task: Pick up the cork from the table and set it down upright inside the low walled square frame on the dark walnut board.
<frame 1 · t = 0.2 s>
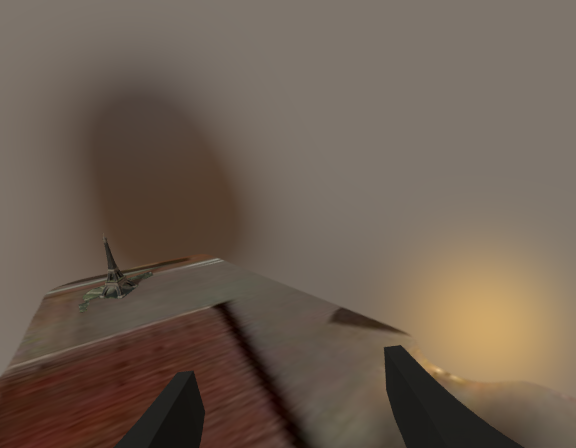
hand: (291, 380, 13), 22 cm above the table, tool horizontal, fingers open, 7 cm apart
eiffel tower figurine: (120, 293, 71), on the table
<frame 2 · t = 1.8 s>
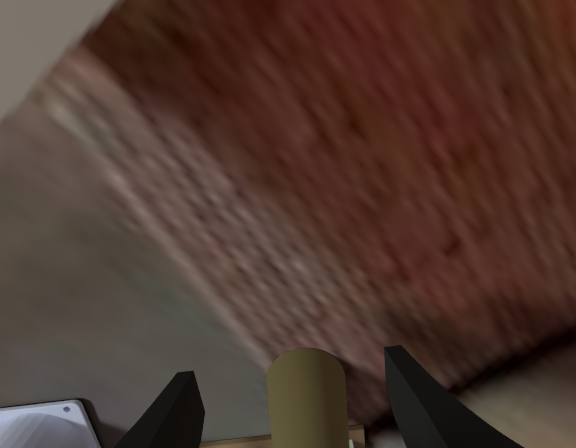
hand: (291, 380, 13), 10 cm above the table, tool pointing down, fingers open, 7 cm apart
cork: (305, 378, 26), on the table
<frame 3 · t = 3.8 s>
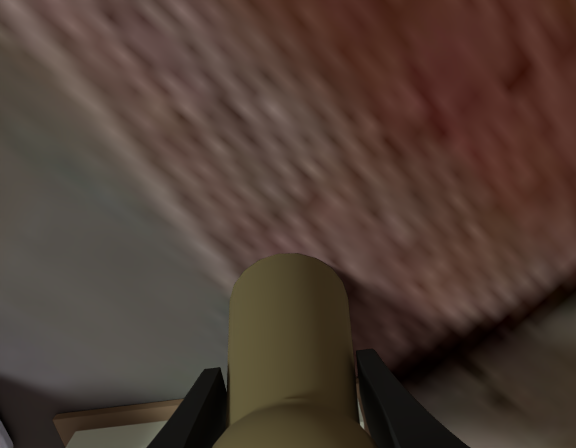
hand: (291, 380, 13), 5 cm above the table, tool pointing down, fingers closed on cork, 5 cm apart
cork: (288, 305, 18), on the table, touching gripper
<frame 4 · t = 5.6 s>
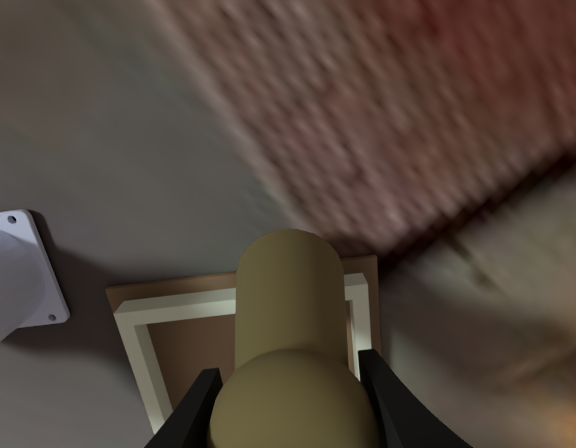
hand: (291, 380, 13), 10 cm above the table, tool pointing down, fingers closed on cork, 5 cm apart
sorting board: (260, 378, 26), on the table
walled square frame: (260, 382, 25), resting on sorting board
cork: (290, 276, 19), point 3 cm above the table, touching gripper
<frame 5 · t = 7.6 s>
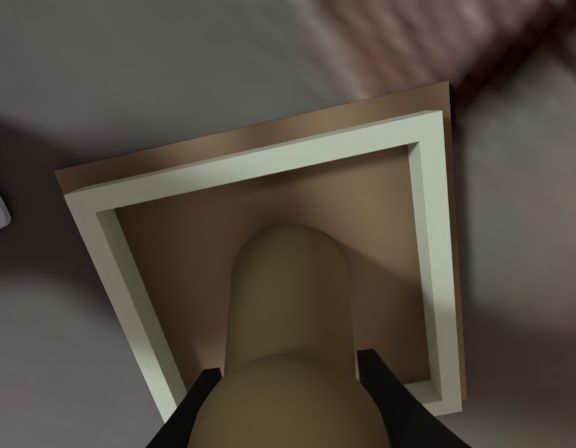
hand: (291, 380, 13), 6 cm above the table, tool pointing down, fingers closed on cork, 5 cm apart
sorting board: (287, 296, 18), on the table
walled square frame: (287, 300, 18), resting on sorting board
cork: (290, 277, 18), resting on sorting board, touching gripper
when the fingers open (6 cm above the table, at t = 8.1 s): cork stays where it is, resting on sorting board.
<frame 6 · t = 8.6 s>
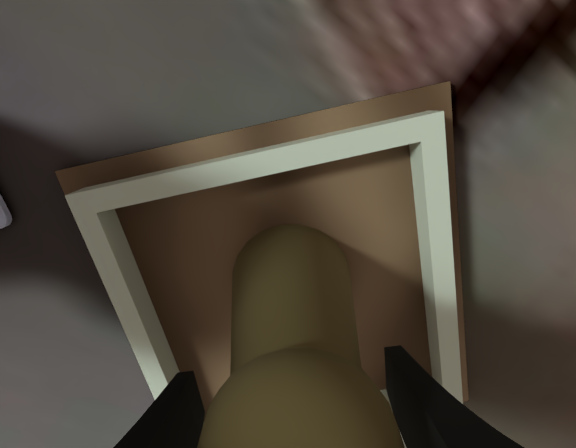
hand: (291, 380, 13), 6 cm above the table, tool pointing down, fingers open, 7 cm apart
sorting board: (288, 297, 18), on the table
walled square frame: (288, 301, 18), resting on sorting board
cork: (291, 277, 18), resting on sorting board
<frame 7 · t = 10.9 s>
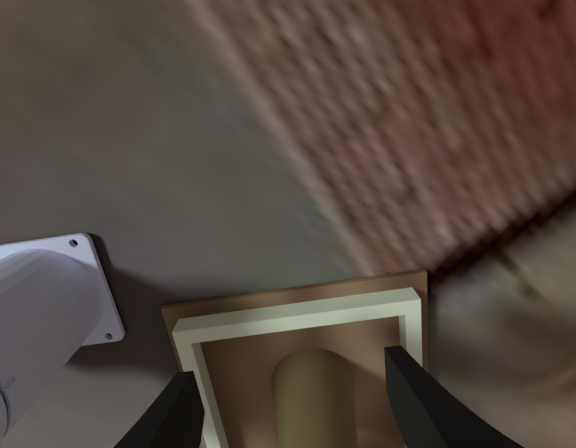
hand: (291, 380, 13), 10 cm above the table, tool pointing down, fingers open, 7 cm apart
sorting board: (308, 390, 26), on the table
walled square frame: (308, 394, 26), resting on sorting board
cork: (311, 379, 26), resting on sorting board
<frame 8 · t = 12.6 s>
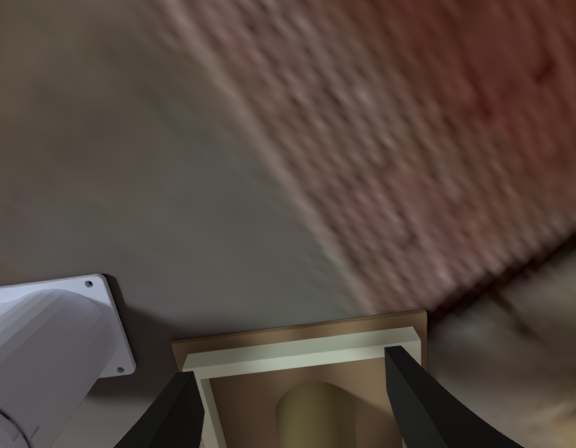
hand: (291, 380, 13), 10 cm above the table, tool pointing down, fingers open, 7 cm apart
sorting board: (311, 420, 27), on the table
walled square frame: (311, 424, 27), resting on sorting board
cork: (314, 410, 27), resting on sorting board
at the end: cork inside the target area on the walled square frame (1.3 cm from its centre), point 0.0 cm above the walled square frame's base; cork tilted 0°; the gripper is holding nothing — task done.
